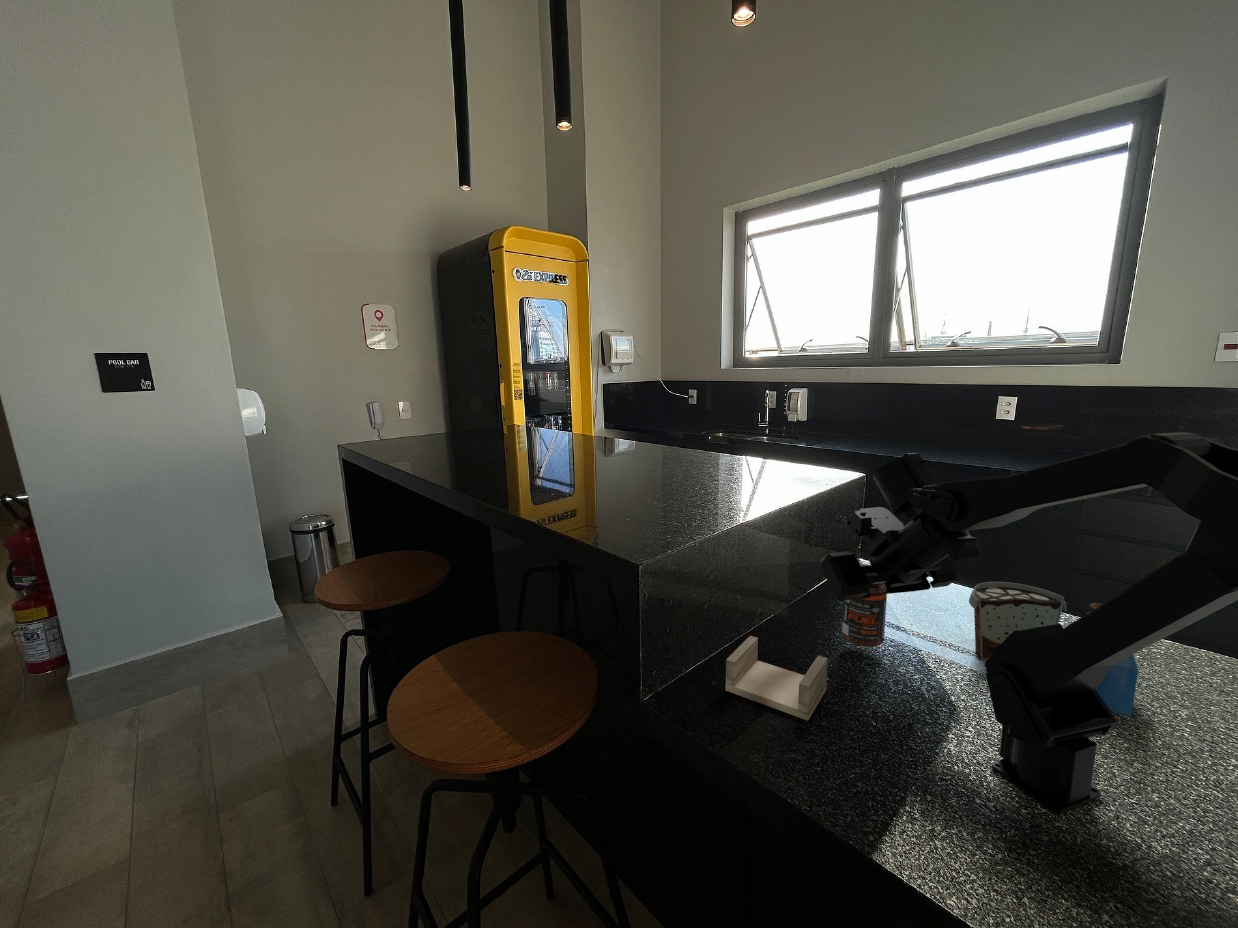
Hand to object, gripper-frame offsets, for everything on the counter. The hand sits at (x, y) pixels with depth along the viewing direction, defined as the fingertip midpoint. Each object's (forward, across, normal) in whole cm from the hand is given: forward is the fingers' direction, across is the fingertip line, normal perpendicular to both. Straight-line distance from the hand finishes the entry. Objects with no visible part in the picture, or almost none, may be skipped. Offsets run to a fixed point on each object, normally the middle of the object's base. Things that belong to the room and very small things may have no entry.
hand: (857, 593), depth 78 cm
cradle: (+2, +18, +11) cm, 21 cm away
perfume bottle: (-7, -21, +20) cm, 30 cm away
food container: (+2, -20, +11) cm, 23 cm away
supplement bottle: (+4, 0, +6) cm, 7 cm away
